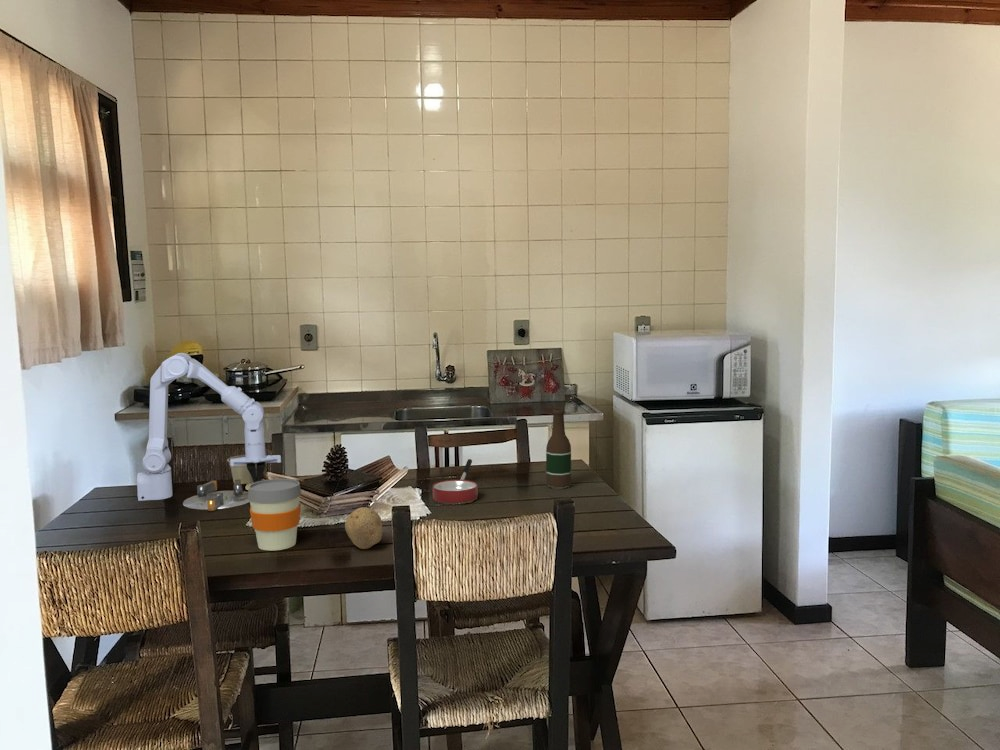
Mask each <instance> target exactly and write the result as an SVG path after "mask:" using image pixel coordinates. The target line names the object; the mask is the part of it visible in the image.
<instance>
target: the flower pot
mask: <svg viewBox="0 0 1000 750" xmlns="http://www.w3.org/2000/svg"><path fill="white" fill-rule="evenodd" d="M241 457H246V454H243V455H236V456H235V455H233V456H230V457H229V458H227V459H226V461H227V462H228V465H229V467H230V470H231V476H232V480H233V481H232V483H234V480H237V479H241V484H242V485H245V484H246V485H247V484H251V483H250V482H252V483H254V482H253V479H252V477H251V475H250V473H249V471H248V469H247V465H236V466H231V465H230V459H234V458H241ZM255 467H256V468H257V464H255Z"/></svg>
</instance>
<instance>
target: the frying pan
mask: <svg viewBox="0 0 1000 750" xmlns="http://www.w3.org/2000/svg"><path fill="white" fill-rule="evenodd" d="M472 463H473V460H472V459H471V458H469V459H467V461H466V463H465V465H464V469H463V470H462V475H461V477H460V479H447V480H440V481H437V482H435V483H433V484H432V500H433V499H434V500H435V501H438V502H445V503H446V502H447V503H458V502H467V501H471V500H474V499H476V498H477V497H478V496H479V494H478V493H479V491H478V483H477V482H476V481H472V480H467V479H466V476H467V475H468V474H469V471H470V469H471V468H470V467H471V465H472ZM478 498H479V497H478ZM478 498H477V499H478ZM434 500H433V501H434ZM435 501H434V502H435Z"/></svg>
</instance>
